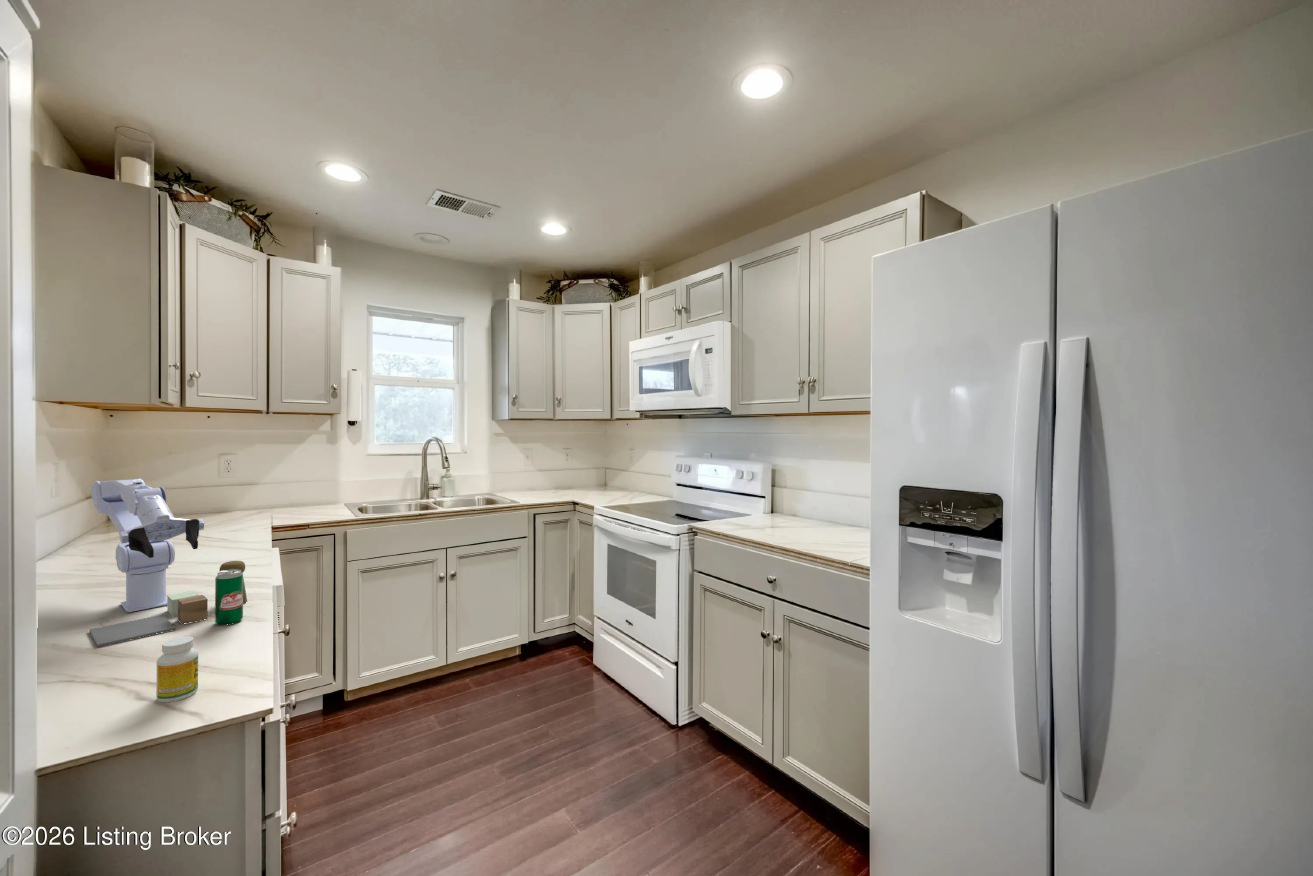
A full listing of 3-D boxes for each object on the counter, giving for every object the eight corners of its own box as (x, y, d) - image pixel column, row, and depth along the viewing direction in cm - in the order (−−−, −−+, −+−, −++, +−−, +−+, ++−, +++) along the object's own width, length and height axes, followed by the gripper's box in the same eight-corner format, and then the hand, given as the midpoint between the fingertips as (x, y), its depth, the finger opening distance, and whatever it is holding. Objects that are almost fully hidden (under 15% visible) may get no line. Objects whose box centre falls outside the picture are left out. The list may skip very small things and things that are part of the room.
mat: (89, 632, 115) (89, 629, 115) (163, 616, 125) (163, 614, 125) (97, 647, 108) (97, 644, 108) (175, 630, 117) (175, 627, 117)
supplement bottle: (153, 695, 90) (153, 641, 90) (194, 684, 95) (194, 632, 94) (159, 707, 87) (159, 650, 87) (201, 694, 91) (201, 640, 91)
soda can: (220, 628, 119) (220, 576, 119) (211, 622, 122) (211, 572, 122) (246, 621, 124) (246, 571, 123) (237, 616, 126) (237, 567, 126)
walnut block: (177, 620, 123) (177, 599, 123) (202, 614, 127) (202, 594, 127) (182, 625, 120) (182, 603, 120) (207, 619, 124) (207, 598, 124)
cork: (230, 609, 131) (230, 565, 131) (210, 606, 132) (210, 563, 132) (253, 601, 137) (253, 559, 136) (234, 598, 138) (234, 557, 138)
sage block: (167, 611, 129) (167, 595, 128) (193, 606, 133) (193, 590, 132) (172, 616, 126) (172, 600, 125) (199, 610, 130) (199, 594, 129)
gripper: (114, 510, 119) (130, 543, 113) (196, 499, 131) (215, 528, 124) (114, 536, 121) (130, 569, 115) (195, 523, 133) (213, 552, 127)
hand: (174, 549), depth 120 cm, fingers open, 7 cm apart
